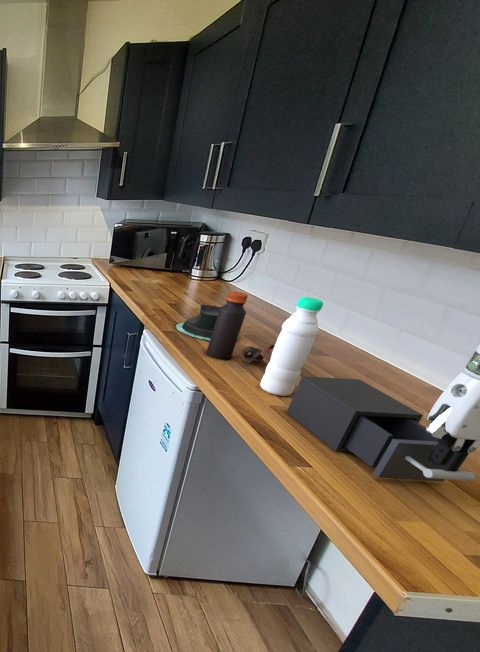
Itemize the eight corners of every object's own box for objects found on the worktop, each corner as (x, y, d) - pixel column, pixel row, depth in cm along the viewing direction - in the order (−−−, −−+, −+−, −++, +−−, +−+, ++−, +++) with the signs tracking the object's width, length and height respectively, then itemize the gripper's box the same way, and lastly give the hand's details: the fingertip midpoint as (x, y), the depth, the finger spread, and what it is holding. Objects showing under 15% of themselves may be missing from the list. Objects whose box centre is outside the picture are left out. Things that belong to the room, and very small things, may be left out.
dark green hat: (172, 316, 157) (229, 324, 152) (172, 353, 146) (233, 363, 141) (185, 288, 145) (247, 296, 140) (186, 326, 134) (253, 336, 129)
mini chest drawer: (473, 502, 69) (499, 465, 65) (403, 497, 69) (426, 461, 66) (377, 437, 86) (395, 405, 82) (322, 434, 86) (337, 402, 83)
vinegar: (225, 361, 121) (247, 298, 113) (202, 354, 126) (221, 292, 118) (234, 356, 125) (255, 294, 117) (211, 349, 130) (230, 289, 122)
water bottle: (256, 389, 105) (291, 298, 95) (262, 381, 110) (296, 293, 100) (288, 400, 101) (329, 305, 91) (293, 391, 106) (332, 299, 95)
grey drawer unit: (399, 455, 82) (423, 415, 78) (335, 451, 82) (356, 411, 78) (341, 415, 95) (359, 379, 91) (286, 412, 96) (302, 376, 91)
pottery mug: (268, 362, 123) (290, 346, 117) (274, 386, 118) (298, 371, 111) (231, 349, 123) (251, 333, 117) (235, 373, 118) (257, 357, 111)
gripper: (482, 378, 58) (417, 477, 65) (590, 386, 57) (512, 484, 65) (430, 357, 65) (377, 448, 72) (526, 363, 64) (462, 455, 72)
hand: (441, 465), depth 69 cm, fingers closed
